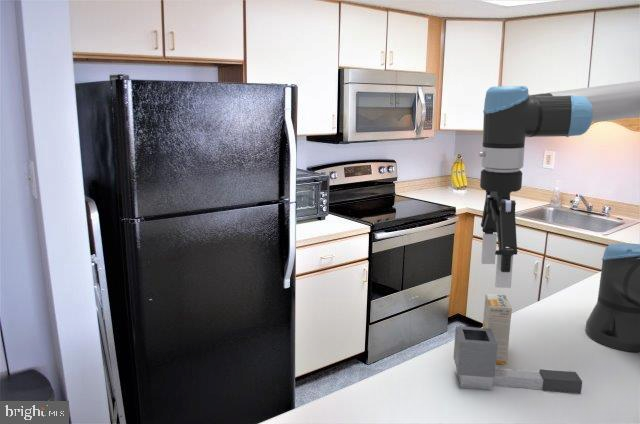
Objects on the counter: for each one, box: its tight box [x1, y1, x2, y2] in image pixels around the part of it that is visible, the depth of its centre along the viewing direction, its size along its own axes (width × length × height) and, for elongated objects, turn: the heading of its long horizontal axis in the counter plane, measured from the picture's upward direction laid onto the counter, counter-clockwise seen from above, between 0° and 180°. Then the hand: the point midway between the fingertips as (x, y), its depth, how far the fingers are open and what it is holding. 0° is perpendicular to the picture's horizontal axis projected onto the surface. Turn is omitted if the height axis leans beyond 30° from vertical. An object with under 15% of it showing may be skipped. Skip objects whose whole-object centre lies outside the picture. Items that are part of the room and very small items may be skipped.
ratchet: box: [457, 368, 583, 395], centre depth 103 cm, size 23×6×7 cm, turn 82°
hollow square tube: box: [453, 326, 498, 378], centre depth 103 cm, size 7×7×7 cm
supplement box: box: [482, 293, 513, 365], centre depth 114 cm, size 8×5×13 cm, turn 168°
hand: (495, 274), depth 103 cm, fingers open, 13 cm apart
